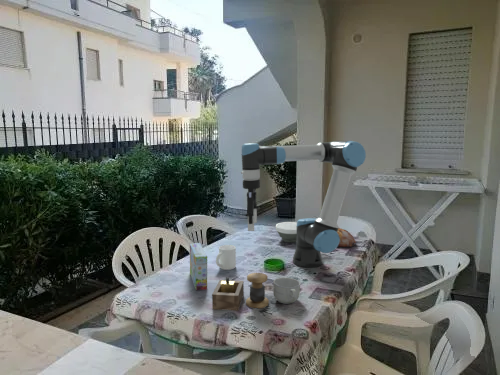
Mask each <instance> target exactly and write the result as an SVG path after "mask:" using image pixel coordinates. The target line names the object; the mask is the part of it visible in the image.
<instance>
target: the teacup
mask: <svg viewBox="0 0 500 375" xmlns="http://www.w3.org/2000/svg"><path fill="white" fill-rule="evenodd" d="M272 283H273V288H272V289H273V290H272V291H273V294H272V295H273V297H274V299H276V300H277V301H278V303H281V304H285V305H290V304H293V303H294V302H296V301H298V300H299V298H300V294H301V293H300V292H301V285H302V284H301V281H300V280H298V279H295V278H291V277H284V276H283V277H278V278H274V279H273V282H272Z"/></svg>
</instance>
